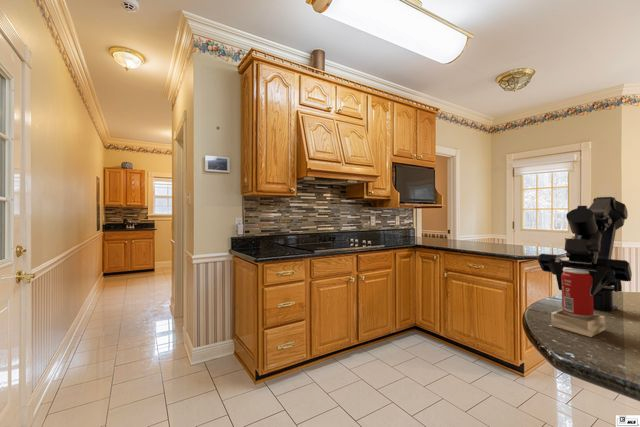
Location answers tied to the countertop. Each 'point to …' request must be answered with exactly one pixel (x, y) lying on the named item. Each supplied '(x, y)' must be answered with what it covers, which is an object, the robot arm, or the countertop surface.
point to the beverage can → (577, 293)
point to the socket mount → (578, 323)
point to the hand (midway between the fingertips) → (575, 291)
